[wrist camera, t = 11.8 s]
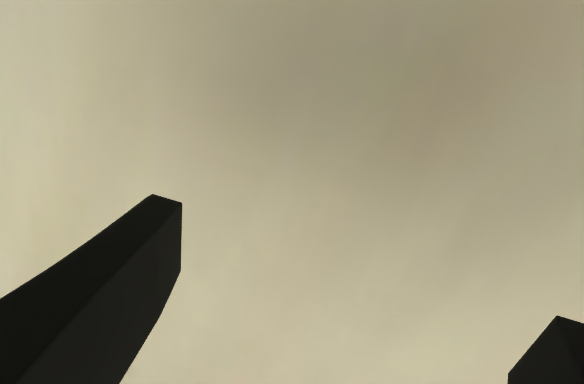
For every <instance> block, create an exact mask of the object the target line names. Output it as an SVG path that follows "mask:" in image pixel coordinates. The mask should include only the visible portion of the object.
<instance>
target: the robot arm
mask: <svg viewBox="0 0 584 384" xmlns="http://www.w3.org/2000/svg"><path fill="white" fill-rule="evenodd" d="M181 231H182V203H181V202H177V201H174V200H171V199H167V198H164V197H161V196H157V195H154V194H152V195H150V196H148V197H146V198H145V199H144V200H143V201H141V202H140V203H139V204H137V205H136V206H135V207H133V208H132V209H131V210H129V211H128V212H127V213H125V214H124V215H123V216H122V217H120V218H119V219H118V220H116V221H115V222H114V223H112V224H111V225H109V226H108V227H107V228H105V229H104V230H103V231H101V232H100V233H99V234H97V235H96V236H94V237H93V238H92V239H90V240H89V241H87V242H86V243H85V244H83V245H82V246H80V247H79V248H77V249H76V250H75V251H73V252H72V253H70V254H69V255H67V256H66V257H64V258H63V259H62V260H60V261H59V262H57V263H56V264H54V265H53V266H51V267H50V268H48V269H47V270H45V271H44V272H42V273H40V274H39V275H37V276H36V277H34V278H33V279H31V280H29V281H28V282H26V283H25V284H23V285H21V286H20V287H18V288H17V289H15V290H14V291H12V292H10V293H9V294H7V295H6V296H4V297H2V298H1V299H0V384H119V383H120V382H121V380H122V378H123V377H124V375H125V373H126V372H127V370H128V368H129V367H130V365H131V364H132V362H133V360H134V359H135V357H136V355H137V354H138V352H139V350H140V349H141V347H142V345H143V344H144V342H145V340H146V339H147V337H148V335H149V334H150V332H151V330H152V329H153V327H154V325H155V324H156V322H157V320H158V319H159V317H160V315H161V313H162V311H163V309H164V307H165V304H166V302H167V300H168V298H169V296H170V294H171V291H172V289H173V287H174V285H175V282H176V280H177V278H178V276H179V273H180V271H181ZM508 384H584V323H580V322H577V321H574V320H570V319H567V318H564V317H560V316H556V317H555V318H554V319H553V320H552V322H551V323H550V324H549V325H548V326H547V328H546V329H545V330H544V331H543V332H542V334H541V335H540V336H539V337H538V338H537V340H536V341H535V342H534V343H533V344H532V346H531V347H530V348H529V349H528V350H527V352H526V353H525V354H524V355H523V356H522V358H521V359H520V360H519V361H518V362H517V364H516V365H515V366H514V367H513V368H512V370H511V371H510V372H509V373H508Z"/></svg>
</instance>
